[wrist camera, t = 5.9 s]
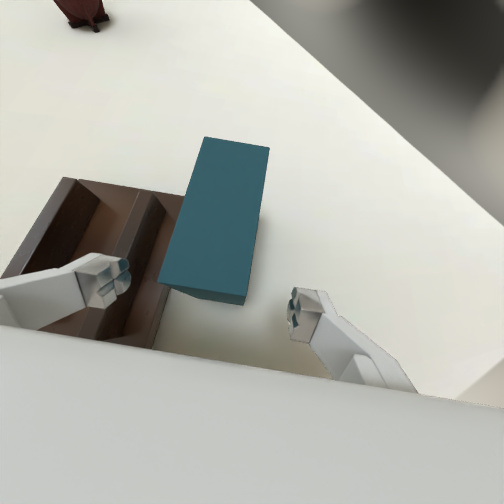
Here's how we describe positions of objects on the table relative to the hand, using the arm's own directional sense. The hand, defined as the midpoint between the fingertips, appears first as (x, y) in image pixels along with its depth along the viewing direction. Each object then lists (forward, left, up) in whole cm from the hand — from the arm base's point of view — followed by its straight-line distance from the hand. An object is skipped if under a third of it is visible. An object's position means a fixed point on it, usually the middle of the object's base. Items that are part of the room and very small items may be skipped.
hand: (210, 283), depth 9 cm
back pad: (+5, 0, -9) cm, 10 cm away
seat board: (+2, +11, -9) cm, 15 cm away
